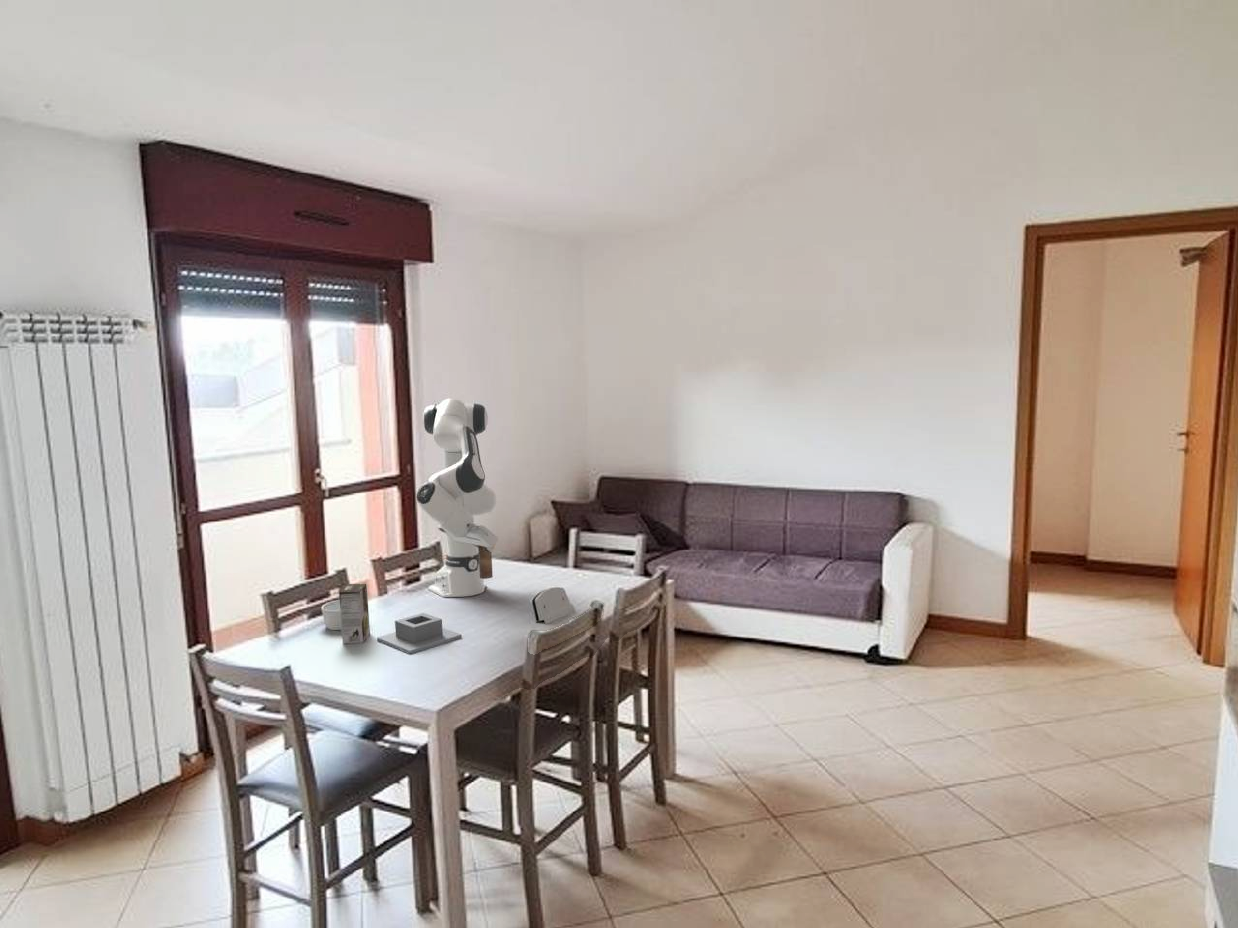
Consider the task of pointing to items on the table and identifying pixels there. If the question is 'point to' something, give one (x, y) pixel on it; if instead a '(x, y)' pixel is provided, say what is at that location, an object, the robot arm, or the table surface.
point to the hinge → (550, 605)
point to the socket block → (418, 633)
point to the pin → (485, 563)
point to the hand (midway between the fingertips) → (486, 548)
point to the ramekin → (332, 615)
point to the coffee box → (354, 613)
